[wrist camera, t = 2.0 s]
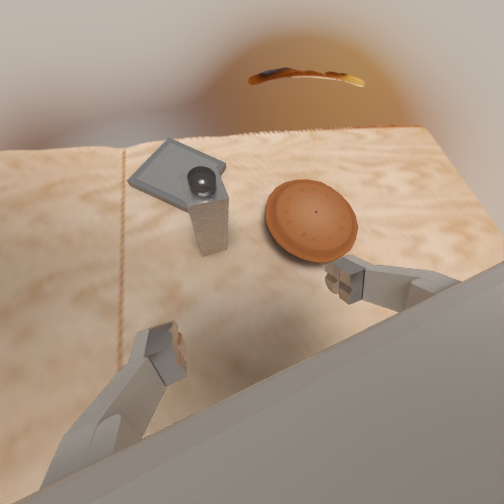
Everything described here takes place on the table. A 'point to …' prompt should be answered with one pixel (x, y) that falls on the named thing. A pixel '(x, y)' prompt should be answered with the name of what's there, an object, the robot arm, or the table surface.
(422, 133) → the table surface
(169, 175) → the rest tile
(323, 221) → the pie
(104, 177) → the table surface
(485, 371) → the robot arm
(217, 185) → the knob-topped square pillar
